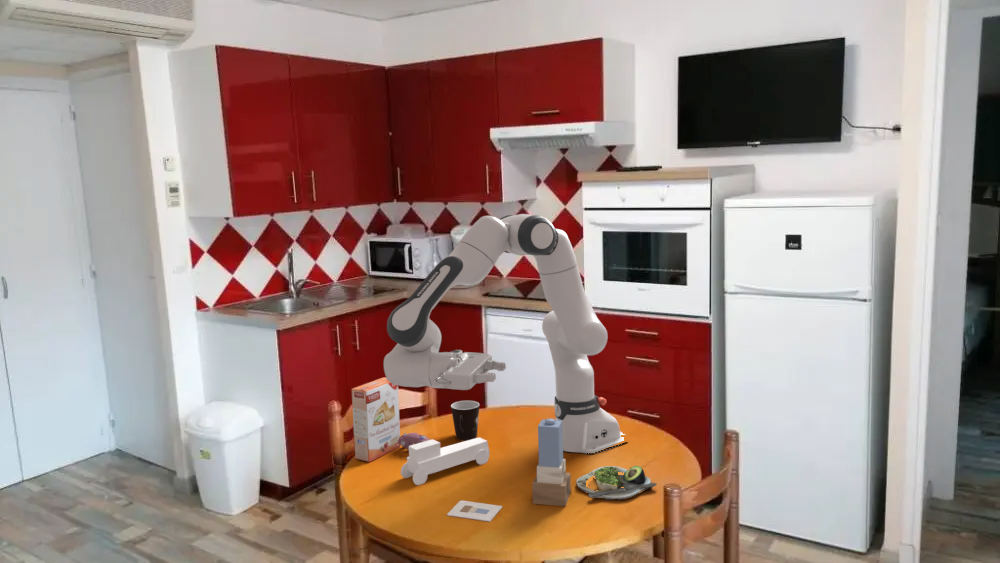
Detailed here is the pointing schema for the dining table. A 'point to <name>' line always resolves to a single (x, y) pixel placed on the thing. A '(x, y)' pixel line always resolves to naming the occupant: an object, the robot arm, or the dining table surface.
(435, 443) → the toy truck
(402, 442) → the video game controller
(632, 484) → the salad plate
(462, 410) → the coffee mug
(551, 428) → the blue brick
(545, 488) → the tower base
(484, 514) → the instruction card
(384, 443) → the cracker box
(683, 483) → the dining table surface
